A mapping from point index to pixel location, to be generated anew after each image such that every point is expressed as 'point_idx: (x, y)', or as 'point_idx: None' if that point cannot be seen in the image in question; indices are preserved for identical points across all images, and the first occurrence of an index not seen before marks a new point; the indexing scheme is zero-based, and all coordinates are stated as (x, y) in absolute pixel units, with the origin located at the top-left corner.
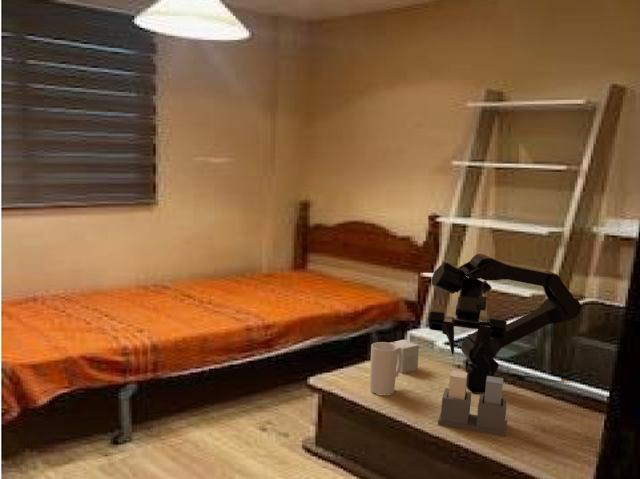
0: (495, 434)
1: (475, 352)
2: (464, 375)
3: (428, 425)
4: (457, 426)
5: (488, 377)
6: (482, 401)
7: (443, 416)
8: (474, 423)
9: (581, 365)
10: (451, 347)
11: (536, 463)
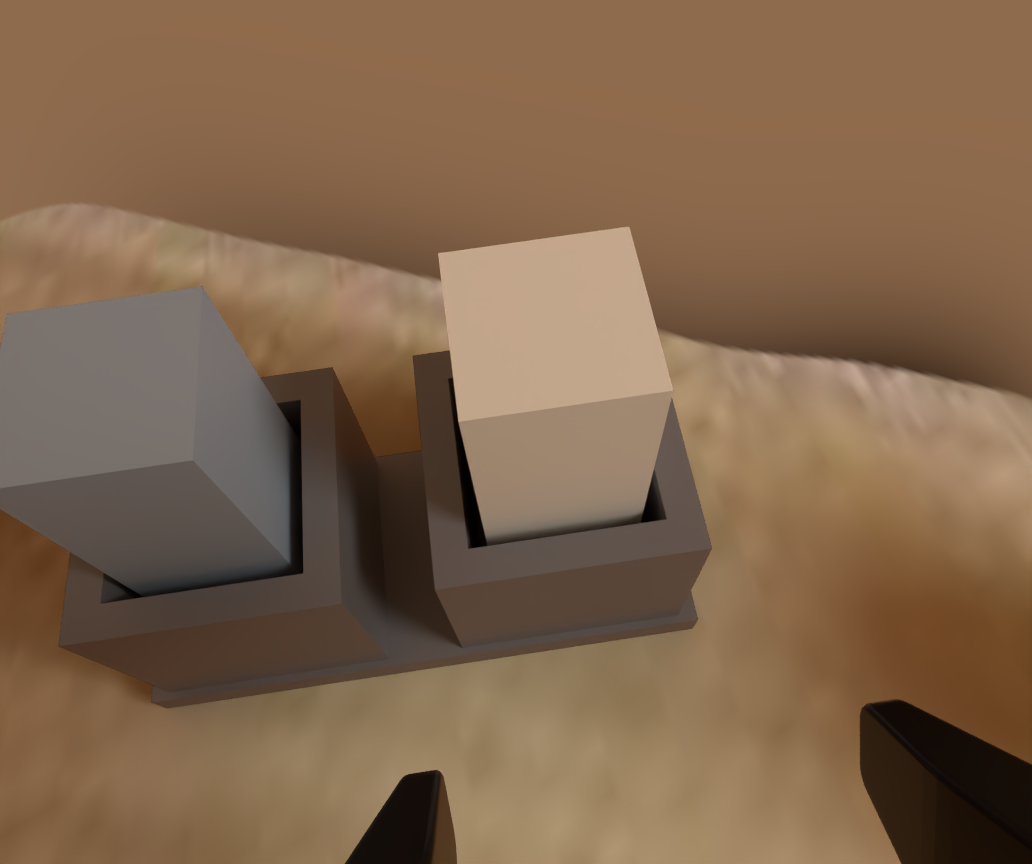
0: None
1: (373, 824)
2: (474, 318)
3: (694, 389)
4: None
5: (173, 413)
6: (301, 427)
7: None
8: (397, 504)
9: None
10: (980, 744)
11: (26, 285)
